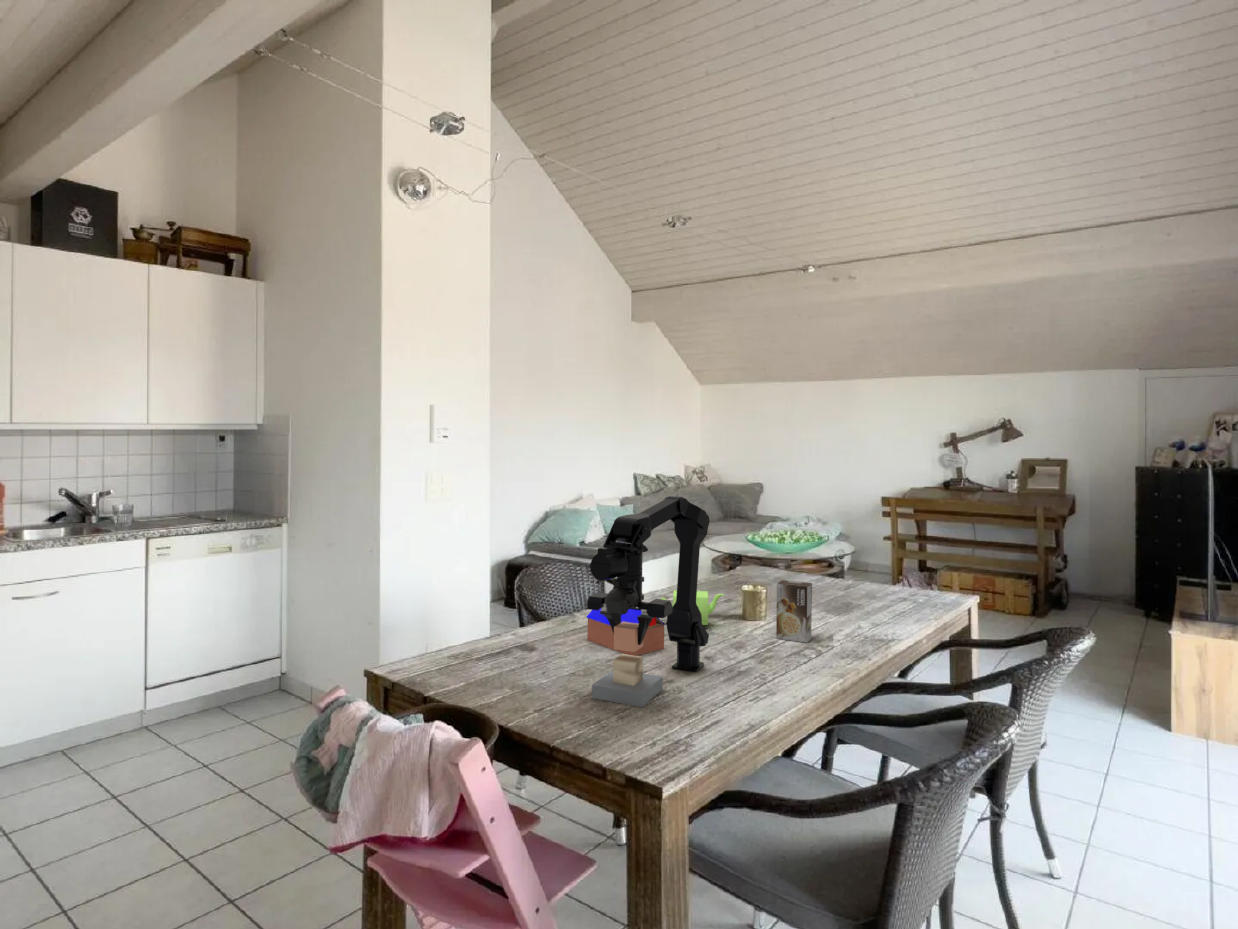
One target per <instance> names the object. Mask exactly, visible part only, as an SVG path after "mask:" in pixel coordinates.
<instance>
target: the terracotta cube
mask: <svg viewBox="0 0 1238 929" xmlns="http://www.w3.org/2000/svg"><path fill="white" fill-rule="evenodd" d="M638 627H639V624H638V623H631V622H621V623H620V624H618V625H616V626H615V627H614V649H616V650H623V651H630V652H635V651H637V650H638V649H640V648H641V647H643V641H642V644H641V645H638ZM614 649H613V650H614ZM616 650H615V651H616Z"/></svg>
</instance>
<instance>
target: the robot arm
mask: <svg viewBox="0 0 1238 929" xmlns="http://www.w3.org/2000/svg"><path fill="white" fill-rule="evenodd" d="M668 521H671V523H673V526H674V527H673V528H674V535H675V537H676V538H677V540H678V542H679V553H678V554H679V555H678V569H677V583H676V590H677V596H676V603H675V604H674V606H673V607H672V605H673V602H671V600H667V599H666V600H661V598H659V599H658V598H655V599H653V600H651V601H648V602H646V601H644V600H645V595H644V594H643V582H645V576H643V554H644V553H646V552H648V551H649V548H648V547H647V546H646V545H644V543H645V542H646V541H647V540H649V538H650V537H651V536H652V531H654V530H655V529H656V528H658V527H659V526H662V525H663V524H664V523H667V522H668ZM709 526H710V516H709V514H707V511H705V510H704V509H702V508H701V507H699V506H697V505H696V504H694V503H692V502H690V501H689V500H688V499H686V498H685V497H683V496H674V495H673V496H672V495H668V496H667V497H665V498H664V499H663V500H662V501H661V500H660V501H659V502H658V503H656V504H654V505H652V506H650V507H649V508H646V509H645V510H642V511H641V512H639V513H634V514H625V515H621V516H618V517H616V518H615V519H614V521H613V524H612V526H611V528H610V530H609V533H608V535H607V536H606V539H605V541H604V543H603V546H602V547H598V548H597V553H596V554H595V555H594V556H592V558H591V561H590V563H589V567H590V573H591V574H592V576H593V577H594V578H595V579H596V580H597V581H607V580H611V579H613V587H612V589H611V590H609V592H608V593H606V592H596V593H593V594H591V595H589V597H587V600H586V609H587V610H590V611H592V610H599V609H600V608H601V611H600V614H603V615H604V616H605V617H606V618H607V619H608V621H609V623H610V625H611V628H612V631H613V634H614V627H615V626H616V625H618V624H620V623H621V615H623V614H626V613H627V612H628V610H629V609H633V610H641V612H642V614H641V615H640V616H638V617H637V619H638V621H639V627H638V645H641V644H642V641H643V639H644V636H645V634H646V631H647V629H648V627H649V624H650V623H651V621H652V619H653V618H654V617H656V618H659V619H665V618H666V623H665V626H666V631H667V634H668V639H669V642H675V643H676V662H675V663H673V665H671V668H672V669H677V670H683V671H688V672H689V671H690V672H698V671H699V670H700V669H702V667H703V666H704V665H705V662H703V661H700V660H701V659H700V656H701V647H706V645H707V644H708V643H709V638H710V634H709V633H708V631H707V629H706V628H705V626H704V625H702V615H701V612H700V610H699V608H698V606H697V604H696V596H697V591H698V578H699V562H700V548H701V544H702V543H703V541H704V540H705V539H706V537H707V536H708V531H709Z"/></svg>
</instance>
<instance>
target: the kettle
mask: <svg viewBox="0 0 1238 929" xmlns="http://www.w3.org/2000/svg"><path fill="white" fill-rule="evenodd" d="M672 593H673V594H672V607H673V606H674V604H675V603H676V596H677V589H674V590H673V592H672ZM722 596H725V594H724V593H717V594H715V595H714V597H713V599H712V602H711V603H710V604H709V591H707V590H706V591H705V590H704V591H703V590H697V596H696V604H697V606H698V608H699V610H700V612H701V615H702V625H703V626H708V625H709V615H710V614H712V613H713V612H714V611H715V609H716V606H717V603H718V601H719V599H720V598H721V597H722ZM660 599H661V600H667V599H666V598H665V597H663V596H662V597H661V598H660Z"/></svg>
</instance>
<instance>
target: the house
mask: <svg viewBox="0 0 1238 929" xmlns="http://www.w3.org/2000/svg"><path fill="white" fill-rule="evenodd" d="M600 611H601V608H600V609H599V610H590V612H588V614H587V616H586V618H587V641H588V642H592V643H595V644H597V645H600V646H604V647H606V648H609V649H611V650H615V652H616V651H617V652H620V653H622V654H627V655H633V656H641V655H644V654H648V653H651V652H655V651H660V650H664V649H665V626H666V623H664V622H663V620H661V618H656V617H654V618H653V619H652V621H651V623H650V624H649V627H648V629H647V631H646V634H645V636H644V639H643V647H641V648H640V649H638V650H637V651H635V652H630V651H623V650H616V649H614V634H613V631H612V628H611V625H610V623H609V621H608V619H607V618H606V617H605V616H604V615H603V614H600ZM641 614H642V612H641V610H633V609H629V610H628V612H627V613H626V614H623V615H621V622H631V623H638V624H639V621H638V619H637V617H638V616H640V615H641Z"/></svg>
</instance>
